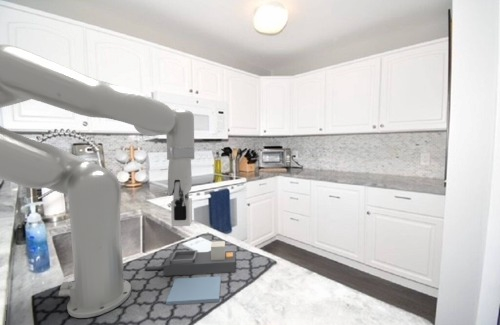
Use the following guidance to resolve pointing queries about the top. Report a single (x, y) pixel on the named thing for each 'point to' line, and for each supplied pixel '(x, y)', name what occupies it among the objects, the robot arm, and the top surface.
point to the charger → (188, 214)
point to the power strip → (199, 261)
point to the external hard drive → (198, 245)
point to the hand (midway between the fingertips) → (182, 216)
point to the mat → (195, 290)
